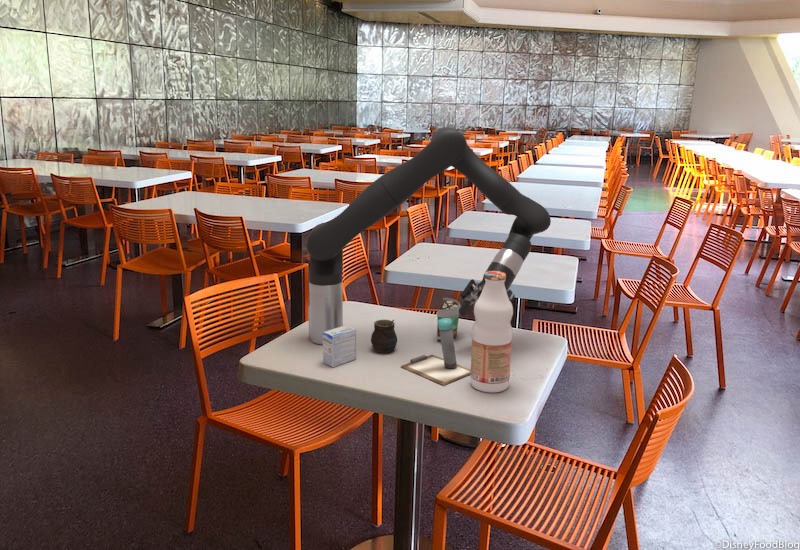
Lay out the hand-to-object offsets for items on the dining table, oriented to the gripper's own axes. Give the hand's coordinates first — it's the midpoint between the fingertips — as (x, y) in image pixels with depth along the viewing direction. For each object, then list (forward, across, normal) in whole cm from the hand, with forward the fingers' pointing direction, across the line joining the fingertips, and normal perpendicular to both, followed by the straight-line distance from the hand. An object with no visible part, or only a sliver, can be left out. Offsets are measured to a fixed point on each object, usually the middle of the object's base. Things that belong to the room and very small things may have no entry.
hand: (473, 319), depth 166 cm
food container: (+2, -16, +14) cm, 21 cm away
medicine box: (+27, -23, -10) cm, 37 cm away
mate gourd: (+17, -21, 0) cm, 27 cm away
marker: (+14, 0, +2) cm, 14 cm away
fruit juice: (+14, +13, +2) cm, 19 cm away
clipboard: (+16, -2, 0) cm, 16 cm away
